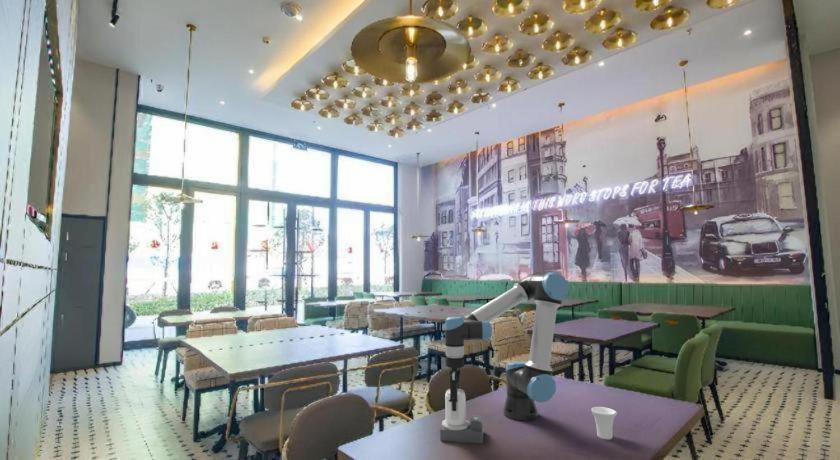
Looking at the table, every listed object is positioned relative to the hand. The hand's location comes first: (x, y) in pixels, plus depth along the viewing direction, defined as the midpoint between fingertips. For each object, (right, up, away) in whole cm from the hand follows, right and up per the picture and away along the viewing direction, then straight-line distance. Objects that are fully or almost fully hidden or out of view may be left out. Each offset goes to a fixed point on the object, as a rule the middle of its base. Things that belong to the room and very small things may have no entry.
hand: (455, 414), depth 155 cm
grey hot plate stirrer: (+2, -8, -1) cm, 8 cm away
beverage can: (0, -3, 0) cm, 3 cm away
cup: (+58, -7, -3) cm, 59 cm away
